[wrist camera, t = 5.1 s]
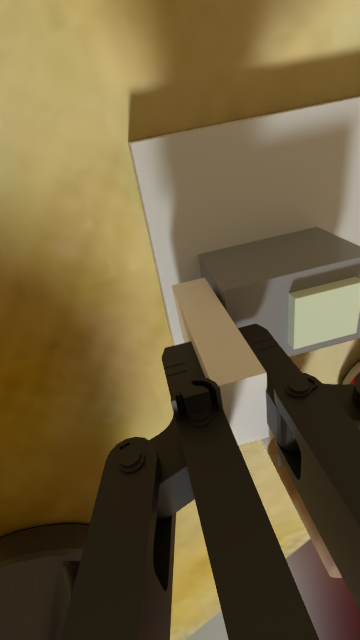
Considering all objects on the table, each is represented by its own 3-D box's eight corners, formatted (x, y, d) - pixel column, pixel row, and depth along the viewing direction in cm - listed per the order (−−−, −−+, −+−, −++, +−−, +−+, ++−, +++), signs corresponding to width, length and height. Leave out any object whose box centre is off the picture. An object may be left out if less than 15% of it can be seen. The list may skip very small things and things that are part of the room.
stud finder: (207, 324, 17) (237, 379, 13) (198, 254, 15) (229, 296, 11) (312, 298, 18) (368, 343, 14) (317, 226, 16) (385, 257, 12)
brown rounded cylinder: (251, 429, 25) (326, 584, 16) (249, 402, 23) (331, 557, 15) (287, 419, 25) (380, 566, 17) (288, 391, 24) (390, 538, 15)
